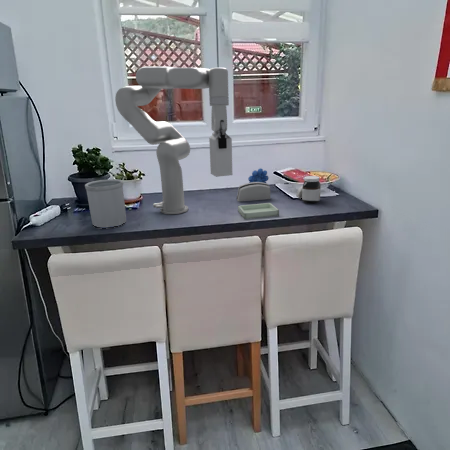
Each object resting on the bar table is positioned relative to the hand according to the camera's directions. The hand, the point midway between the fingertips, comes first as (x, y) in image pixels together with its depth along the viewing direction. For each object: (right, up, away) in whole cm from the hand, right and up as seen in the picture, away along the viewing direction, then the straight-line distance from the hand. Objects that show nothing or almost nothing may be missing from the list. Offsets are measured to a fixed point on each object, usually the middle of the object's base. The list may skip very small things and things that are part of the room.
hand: (220, 146), depth 159 cm
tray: (+16, -27, +11) cm, 33 cm away
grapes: (+19, -14, +50) cm, 55 cm away
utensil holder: (-47, -31, +6) cm, 57 cm away
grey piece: (+16, -20, +33) cm, 42 cm away
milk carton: (0, -11, +4) cm, 12 cm away
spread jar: (+41, -20, +27) cm, 54 cm away
